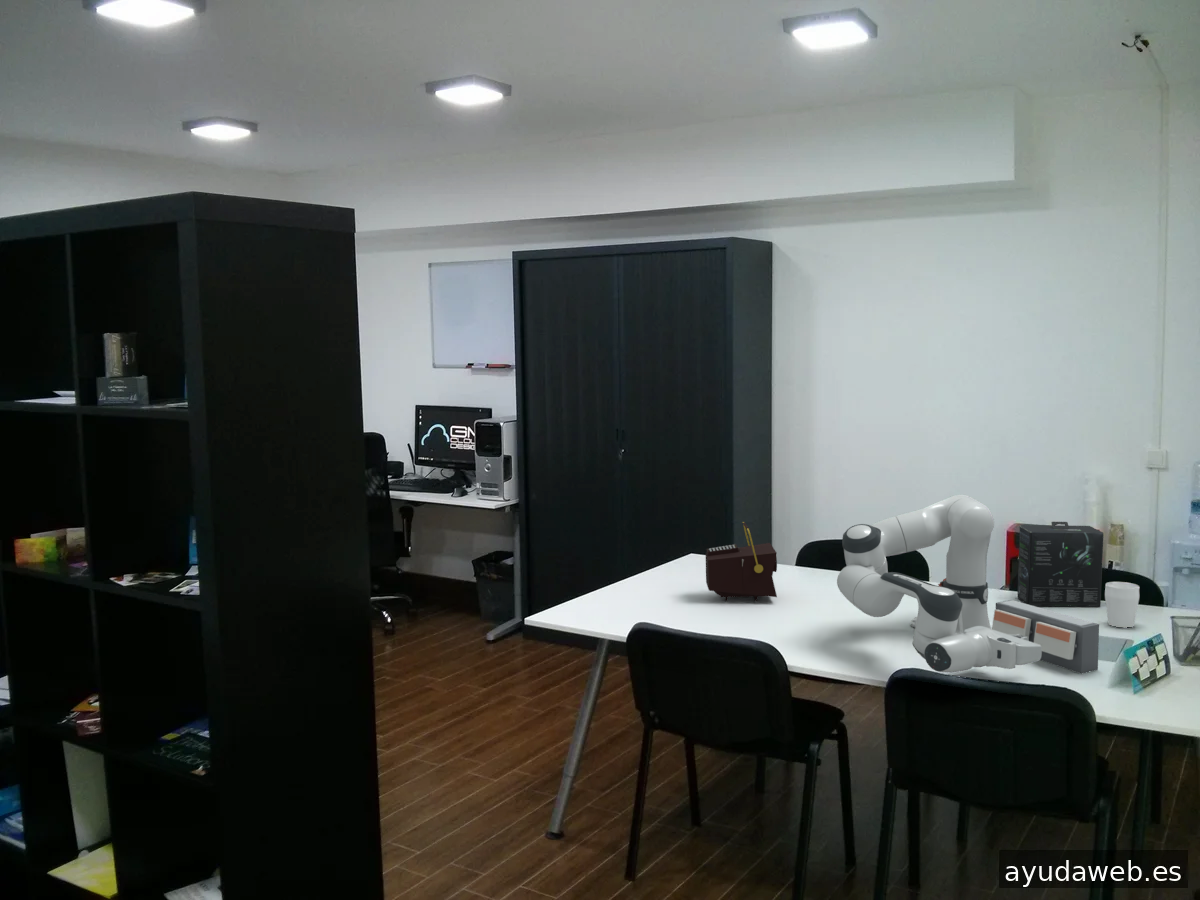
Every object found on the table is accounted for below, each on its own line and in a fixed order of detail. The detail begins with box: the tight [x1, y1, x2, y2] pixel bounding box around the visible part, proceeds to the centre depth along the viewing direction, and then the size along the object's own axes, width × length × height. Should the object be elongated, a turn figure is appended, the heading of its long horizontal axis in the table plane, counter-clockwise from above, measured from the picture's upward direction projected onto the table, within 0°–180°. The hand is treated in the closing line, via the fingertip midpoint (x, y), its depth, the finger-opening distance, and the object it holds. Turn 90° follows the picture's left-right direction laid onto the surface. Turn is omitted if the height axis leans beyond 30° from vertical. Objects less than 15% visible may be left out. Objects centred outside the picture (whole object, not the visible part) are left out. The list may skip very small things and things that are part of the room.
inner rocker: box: [991, 609, 1032, 638], centre depth 276 cm, size 3×12×7 cm, turn 26°
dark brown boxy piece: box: [705, 521, 778, 602], centre depth 339 cm, size 16×23×25 cm
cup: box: [1104, 581, 1140, 629], centre depth 298 cm, size 9×9×12 cm
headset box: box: [1017, 521, 1104, 608], centre depth 324 cm, size 22×12×26 cm, turn 84°
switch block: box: [995, 599, 1100, 675], centre depth 274 cm, size 12×28×12 cm, turn 26°
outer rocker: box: [1034, 622, 1077, 659], centre depth 264 cm, size 3×12×7 cm, turn 26°
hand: (1024, 638), depth 259 cm, fingers closed
